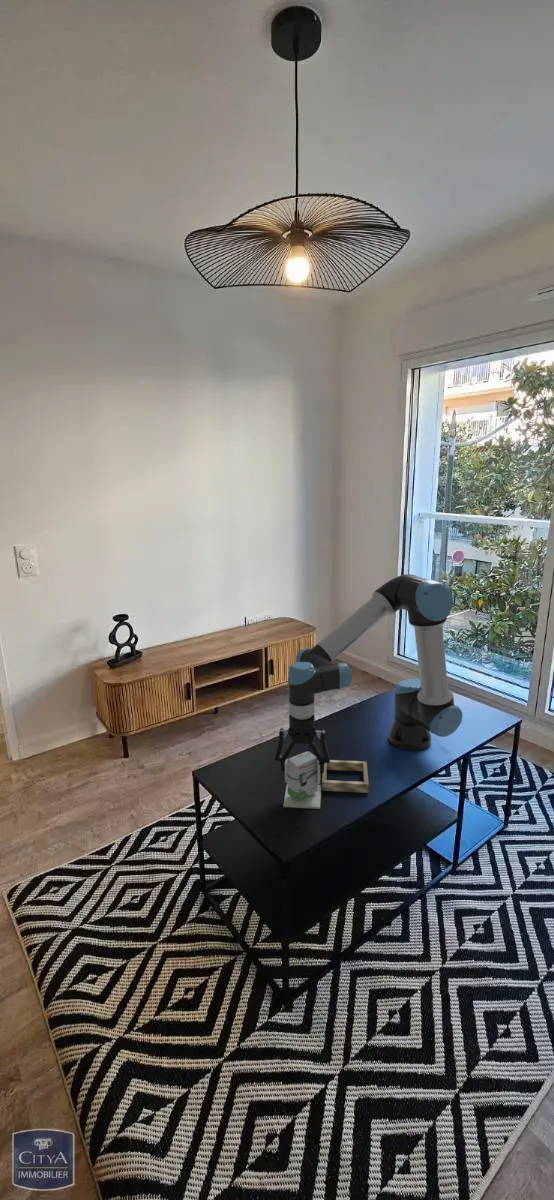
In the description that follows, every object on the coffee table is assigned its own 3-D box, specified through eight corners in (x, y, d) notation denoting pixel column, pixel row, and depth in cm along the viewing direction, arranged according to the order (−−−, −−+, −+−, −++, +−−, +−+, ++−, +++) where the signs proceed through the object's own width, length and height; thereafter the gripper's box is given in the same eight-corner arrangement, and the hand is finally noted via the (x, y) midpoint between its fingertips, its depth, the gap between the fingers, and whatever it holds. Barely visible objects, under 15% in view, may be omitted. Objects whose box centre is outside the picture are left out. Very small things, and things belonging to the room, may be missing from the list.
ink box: (296, 801, 154) (296, 766, 151) (286, 793, 158) (286, 759, 155) (318, 790, 159) (318, 756, 156) (308, 783, 163) (308, 750, 160)
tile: (321, 786, 163) (321, 785, 163) (320, 808, 153) (320, 807, 153) (286, 785, 165) (286, 783, 164) (283, 806, 154) (283, 805, 154)
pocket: (366, 769, 172) (366, 761, 171) (368, 792, 160) (368, 784, 159) (323, 767, 174) (323, 759, 173) (322, 790, 161) (322, 782, 161)
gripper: (339, 709, 154) (338, 775, 160) (266, 707, 157) (269, 772, 162) (339, 721, 147) (338, 789, 152) (263, 718, 149) (265, 786, 155)
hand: (302, 780), depth 157 cm, fingers closed on ink box, 9 cm apart
